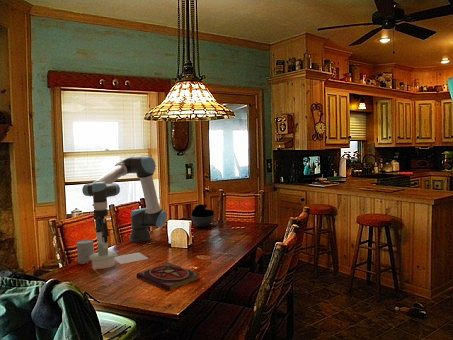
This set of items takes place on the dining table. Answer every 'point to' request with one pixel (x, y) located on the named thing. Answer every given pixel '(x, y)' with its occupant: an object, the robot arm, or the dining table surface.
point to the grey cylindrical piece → (84, 251)
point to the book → (168, 276)
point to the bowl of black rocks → (202, 216)
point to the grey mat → (130, 258)
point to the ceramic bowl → (103, 263)
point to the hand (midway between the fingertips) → (102, 245)
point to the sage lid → (102, 253)
